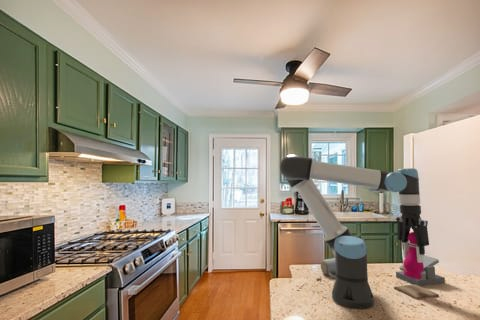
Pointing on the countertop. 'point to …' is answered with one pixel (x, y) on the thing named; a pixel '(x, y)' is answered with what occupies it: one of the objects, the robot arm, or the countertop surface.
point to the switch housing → (423, 277)
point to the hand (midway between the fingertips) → (414, 259)
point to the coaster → (416, 291)
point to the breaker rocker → (425, 263)
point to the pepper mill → (412, 260)
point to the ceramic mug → (329, 267)
